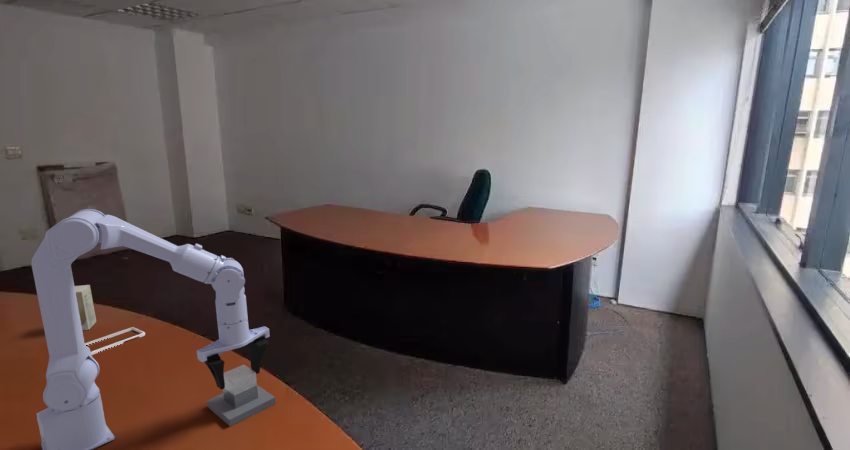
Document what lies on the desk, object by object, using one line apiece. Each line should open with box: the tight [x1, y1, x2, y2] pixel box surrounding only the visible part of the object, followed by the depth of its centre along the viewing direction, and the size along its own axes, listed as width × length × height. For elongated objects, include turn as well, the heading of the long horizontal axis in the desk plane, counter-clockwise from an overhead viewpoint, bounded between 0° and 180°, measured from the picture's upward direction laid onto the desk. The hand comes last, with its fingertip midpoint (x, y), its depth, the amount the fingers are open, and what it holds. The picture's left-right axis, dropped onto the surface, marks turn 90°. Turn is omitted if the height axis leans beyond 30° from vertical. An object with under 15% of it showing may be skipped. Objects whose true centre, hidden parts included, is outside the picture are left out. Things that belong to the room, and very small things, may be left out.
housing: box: [222, 364, 258, 409], centre depth 95 cm, size 5×5×6 cm
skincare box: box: [74, 284, 97, 331], centre depth 134 cm, size 6×4×12 cm
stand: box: [206, 384, 277, 427], centre depth 96 cm, size 10×10×2 cm
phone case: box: [84, 326, 146, 356], centre depth 125 cm, size 7×1×15 cm
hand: (238, 379), depth 94 cm, fingers open, 7 cm apart
